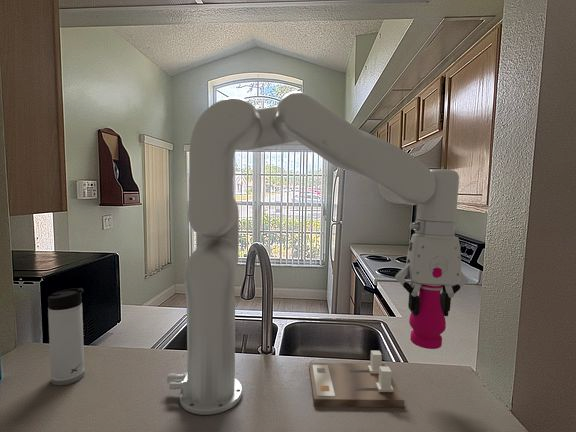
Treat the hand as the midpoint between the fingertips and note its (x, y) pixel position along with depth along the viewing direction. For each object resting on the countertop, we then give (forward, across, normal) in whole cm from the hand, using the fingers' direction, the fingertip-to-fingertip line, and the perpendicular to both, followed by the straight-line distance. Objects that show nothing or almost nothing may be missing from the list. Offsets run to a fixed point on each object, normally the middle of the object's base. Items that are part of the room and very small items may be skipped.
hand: (428, 312), depth 73 cm
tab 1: (+16, -9, +5) cm, 19 cm away
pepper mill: (+7, 0, 0) cm, 7 cm away
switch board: (+18, -15, +1) cm, 23 cm away
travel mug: (+19, -78, +3) cm, 80 cm away
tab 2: (+16, -9, -2) cm, 18 cm away
